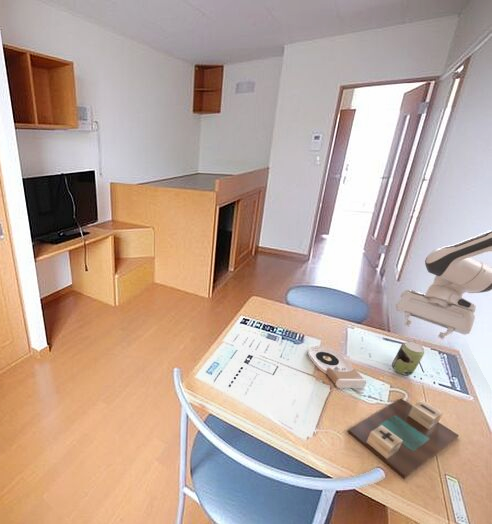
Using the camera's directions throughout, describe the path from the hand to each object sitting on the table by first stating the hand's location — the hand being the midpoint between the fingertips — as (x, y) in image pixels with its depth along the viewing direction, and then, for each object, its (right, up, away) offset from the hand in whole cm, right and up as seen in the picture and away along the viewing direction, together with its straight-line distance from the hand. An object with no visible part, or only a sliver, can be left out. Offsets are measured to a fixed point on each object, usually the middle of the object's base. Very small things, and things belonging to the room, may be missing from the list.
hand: (422, 331), depth 107 cm
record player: (-31, -13, +2) cm, 33 cm away
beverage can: (-7, -14, 0) cm, 16 cm away
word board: (-27, -24, -23) cm, 42 cm away
